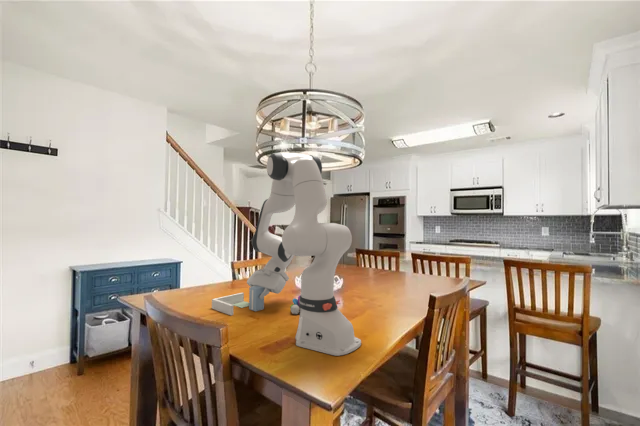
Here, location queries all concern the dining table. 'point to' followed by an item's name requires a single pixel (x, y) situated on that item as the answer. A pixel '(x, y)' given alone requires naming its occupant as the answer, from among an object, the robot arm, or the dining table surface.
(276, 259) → the robot arm
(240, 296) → the back wall
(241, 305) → the pad
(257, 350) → the dining table surface
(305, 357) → the dining table surface
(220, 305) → the side wall
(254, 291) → the block
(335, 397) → the dining table surface
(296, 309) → the colourful small cluster
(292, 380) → the dining table surface
